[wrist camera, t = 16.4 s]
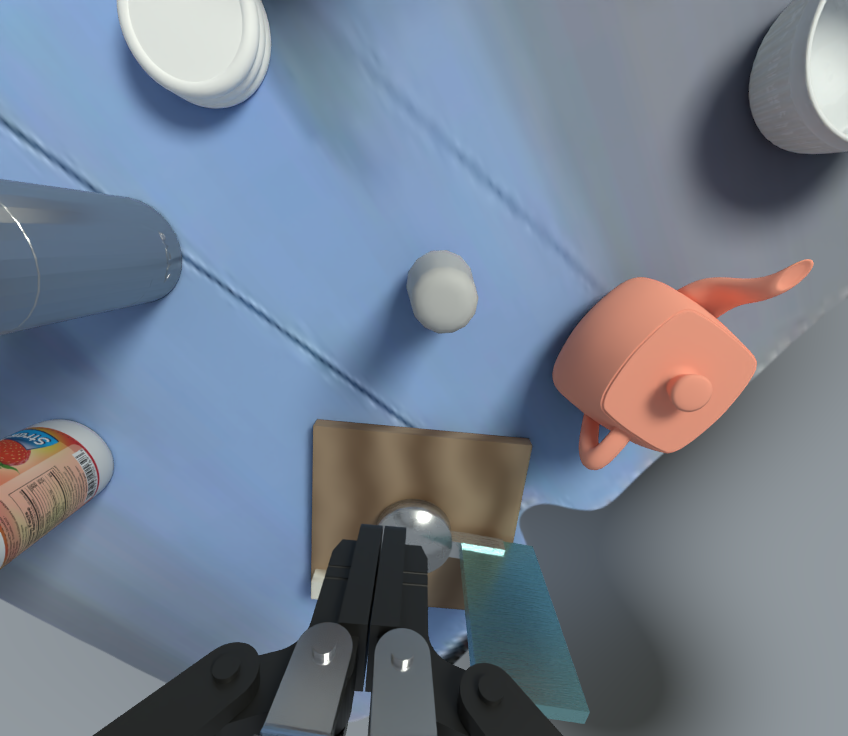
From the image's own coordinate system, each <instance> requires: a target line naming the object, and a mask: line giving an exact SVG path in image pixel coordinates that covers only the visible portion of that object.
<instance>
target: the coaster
mask: <svg viewBox="0 0 848 736" xmlns="http://www.w3.org/2000/svg"><path fill="white" fill-rule="evenodd" d="M117 10H118V18H119V22H120V26H121V29H122V32H123V35H124V38H125V40H126V43H127V45H128V47H129V49H130V50H131V52H132V54H133V56H134V57H135V59H136V60H137V61H138V63H139V64H140V66H141V67H142V68H143V69H144V70H145V71H146V73H147V74H148V75H149V76H150V77H151V78H152V79H154V80H155V81H156V82H157V83H158V84H160V85H161V86H163V87H164V88H166V89H167V90H169V91H171V92H173V93H174V94H176V95H178V96H180V97H181V98H183V99H184V100H186V101H188V102H190V103H192V104H195V105H198V106H201V107H206V108H216V109H218V108H228V107H231V106H235V105H237V104H239V103H242V102H243V101H245V100H246V99H248V98H249V97H250V96H251V95H252V94H253V93H254V92H255V91H256V90H257V89H258V87H259V86H260V84H261V83H262V81H263V79H264V77H265V75H266V72H267V69H268V66H269V61H270V55H271V34H270V28H269V22H268V18H267V14H266V12H265V9H264V6H263V4H262V2H261V0H117Z"/></svg>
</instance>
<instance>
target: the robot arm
mask: <svg viewBox="0 0 848 736" xmlns="http://www.w3.org/2000/svg"><path fill="white" fill-rule="evenodd" d="M181 268H182V255H181V249H180V245H179V242H178V240H177V237H176V235H175V233H174V231H173V230H172V228H171V226H170V225H169V223H168V222H167V221H166V220H165V219H164V218H163V217H162V216H161V214H159V213H158V212H157V211H156V210H154V209H153V208H152V207H150V206H148V205H147V204H145V203H143V202H141V201H138V200H135V199H132V198H129V197H122V196H114V195H107V194H100V193H94V192H88V191H81V190H74V189H67V188H60V187H53V186H46V185H39V184H32V183H25V182H18V181H11V180H4V179H0V335H4V334H8V333H13V332H17V331H22V330H26V329H31V328H35V327H40V326H44V325H49V324H53V323H58V322H62V321H67V320H71V319H76V318H80V317H85V316H89V315H94V314H98V313H103V312H107V311H112V310H116V309H122V308H126V307H130V306H135V305H139V304H144V303H148V302H152V301H155V300H158V299H161V298H162V297H164V296H165V295H167V294H168V293H169V292H170V291H171V290H172V289H173V288H174V287H175V285H176V283H177V281H178V279H179V276H180V272H181ZM382 535H383V526H382V525H371V524H361V526H360V530H359V534H358V539H357V540H346V539H342V540H341V542H340V543H339V544H338V545H337V546H336V547H335V548H334V550H333V551H332V554H331V557H330V561H329V564H328V567H327V570H326V574H325V578H324V580H323V584H322V587H321V590H320V594H319V597H318V600H317V604H316V607H315V610H314V614H313V617H312V620H311V623H310V626H309V628H308V629H307V630H306V631H305V632H304V633H303V634H302V635H301V637H300V638H299V640H298V641H297V642H295V643H294V644H293V645H291V646H289V647H287V648H285V649H282V650H279V651H275V652H271V653H267V654H263V655H259V656H258V653H257V652H256V650H255V649H254V648H253V647H252V646H250V645H249V644H246V643H241V642H234V643H229V644H226V645H223V646H221V647H218V648H217V649H215V650H213V651H212V652H210V653H209V654H208V655H206V656H205V657H203V658H202V659H200V660H199V661H198V662H196V663H195V664H193V665H192V666H191V667H189V668H188V669H186V670H185V671H183V672H182V673H181V674H179V675H178V676H176V677H175V678H174V679H172V680H171V681H169V682H168V683H166V684H165V685H164V686H162V687H161V688H159V689H158V690H157V691H155V692H154V693H152V694H151V695H149V696H148V697H147V698H145V699H144V700H142V701H141V702H140V703H138V704H137V705H135V706H134V707H132V708H131V709H130V710H128V711H127V712H125V713H124V714H123V715H121V716H120V717H118V718H117V719H115V720H114V721H113V722H111V723H110V724H108V725H107V726H106V727H104V728H103V729H102V730H100V731H99V732H97V733H96V734H94V735H93V736H345V735H346V731H347V726H348V720H349V717H350V714H351V709H352V702H353V696H354V691H363V686H364V679H365V671H366V664H367V675H366V688H365V692H371V702H370V715H369V726H368V736H563V735H562V734H561V733H560V732H559V731H558V730H557V729H556V728H555V726H554V725H553V724H552V723H551V722H550V721H549V719H548V718H547V717H546V716H545V715H544V714H543V713H542V712H541V710H540V709H539V708H538V707H537V706H536V705H535V704H534V703H533V701H532V700H531V699H530V698H529V697H528V696H527V695H526V694H525V692H524V691H523V690H522V689H521V688H520V687H519V686H518V685H517V683H516V682H515V681H514V680H513V679H512V678H511V677H510V676H509V675H508V674H507V673H506V672H505V671H504V670H503V669H501V668H500V667H498V666H496V665H493V664H490V663H477V664H475V665H472V666H471V667H469V668H468V669H467V670H464V669H461V668H459V667H457V666H454V665H452V664H450V663H448V662H446V661H445V660H444V659H442V658H441V657H440V656H439V655H438V654H437V653H436V652H435V650H434V649H433V647H432V646H431V643H430V641H429V637H428V558H427V556H426V554H425V552H424V550H423V548H422V546H418V545H406V544H405V543H406V527H395V526H385V528H384V535H383V542H382ZM381 547H382V548H381ZM367 657H368V662H367Z"/></svg>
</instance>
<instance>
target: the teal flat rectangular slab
mask: <svg viewBox="0 0 848 736" xmlns="http://www.w3.org/2000/svg"><path fill="white" fill-rule="evenodd" d="M377 525H382V526H383V535H384V528H385V526H395V527H406V543H405V544H406V545H418V546H422V548H423V550H424V552H425V554H426V556H427V558H428V573H430V572H432V571H434V570H436V569H438V568H439V567H440V566H442V565H443V564H444V563H445V561H446V560H447V559H448V557H452V558H458V559H460V568H461V577H462V587H463V597H464V607H465V617H466V627H467V636H468V646H469V656H470V666H472V665H475V664H477V663H490V664H493V665H496V666H498V667H500V668H501V669H503V670H504V671H505V672H506V673H507V674H508V675H509V676H510V677H511V678H512V679H513V680H514V681H515V682H516V683H517V685H518V686H519V687H520V688H521V689H522V690H523V691H524V692H525V694H526V695H527V696H528V697H529V698H530V699H531V700H532V701H533V703H534V704H535V705H536V706H537V707H538V708H539V709H540V710H541V712H542V713H543V714H544V715H545V716H546V717H547V718H549V719H556V720H562V721H569V722H575V723H582V724H585V721H586V719H587V717H588V715H589V709H588V706H587V703H586V700H585V697H584V694H583V692H582V689H581V685H580V683H579V680H578V677H577V674H576V671H575V668H574V665H573V662H572V660H571V656H570V654H569V651H568V648H567V645H566V642H565V639H564V636H563V633H562V631H561V628H560V624H559V621H558V619H557V616H556V613H555V610H554V607H553V604H552V601H551V598H550V596H549V592H548V590H547V587H546V584H545V581H544V578H543V575H542V572H541V569H540V566H539V563H538V560H537V558H536V555H535V552H534V549H533V546H527V545H522V544H516V543H510V542H504V541H503V539H498V538H492V537H486V536H480V535H475V534H469V533H463V532H457V531H451V525H450V521H449V519H448V517H447V515H446V514H445V513H444V512H443V510H442V509H440V508H439V507H438V506H436V505H435V504H433V503H431V502H428V501H426V500H421V499H405V500H401V501H398V502H395V503H393V504H391V505H390V506H388V507H387V508H386V509H385V510H384V511H383V512H382V513H381V515H380V517H379V519H378V521H377ZM383 535H382V542H383ZM381 548H382V547H381Z"/></svg>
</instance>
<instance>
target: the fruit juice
mask: <svg viewBox="0 0 848 736" xmlns="http://www.w3.org/2000/svg"><path fill="white" fill-rule="evenodd" d="M113 470H114V462H113V457H112V454H111V452H110V450H109V448H108V446H107V445H106V443H105V442H104V441H103V439H102V438H101V437H100V436H99V435H98V434H96V433H95V432H94V431H93V430H91V429H90V428H88V427H86V426H84V425H82V424H80V423H77V422H74V421H70V420H64V419H53V420H47V421H43V422H40V423H37V424H34V425H31V426H29V427H27V428H25V429H23V430H21V431H19V432H16V433H14V434H12V435H10V436H8V437H6V438H4V439H2V440H0V569H2V568H3V567H4V566H5V565H7V564H8V563H9V562H11V561H12V560H13V559H14V558H16V557H17V556H18V555H20V554H21V553H22V552H24V551H25V550H26V549H27V548H29V547H30V546H31V545H33V544H34V543H35V542H37V541H38V540H39V539H40V538H42V537H43V536H44V535H46V534H47V533H48V532H49V531H51V530H52V529H53V528H55V527H56V526H57V525H59V524H60V523H61V522H62V521H64V520H65V519H66V518H68V517H69V516H70V515H72V514H73V513H74V512H75V511H77V510H78V509H79V508H81V507H82V506H83V505H84V504H86V503H87V502H88V501H90V500H91V499H92V498H94V497H95V496H96V495H97V494H99V493H100V492H101V491H102V490H103V489H104V488H105V487H106V485H107V484H108V483H109V481H110V479H111V477H112V475H113Z"/></svg>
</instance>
